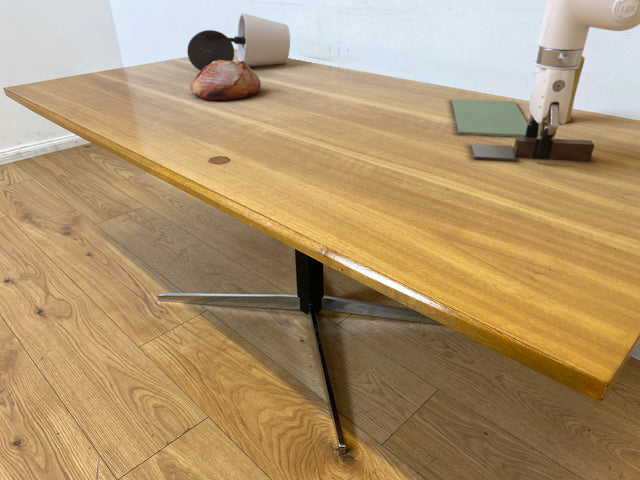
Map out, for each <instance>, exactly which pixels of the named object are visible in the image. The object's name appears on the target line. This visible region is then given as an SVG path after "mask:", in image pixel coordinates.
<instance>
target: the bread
mask: <svg viewBox="0 0 640 480" xmlns="http://www.w3.org/2000/svg"><path fill="white" fill-rule="evenodd" d="M261 82H262V81H261V79H260V77H259V76H258V75H257V74H256V73H255V71H254V70H252V69H251V66H247V65H246V63H245V62H244V61H239V60H238V61H234V60H233V61H226V60H217V61H213V62H212V63H211V64H210V65H208V66H205V67H204V68H203V69H202V70H201V71H200V70H199V71H198V72H197V73H196V74H195V76H193V78H192V80H191V81H190V84H189V88H190V89H189V90H190V91H191V93H192V94H193V95H194V96H197V97H199V98H201V99H204V100H208V101H211V102H213V101H234V100H240V99H244V98H249V97H252V96H253V95H255V94H256V93H258V92H259V91H260V89H261V87H262V83H261Z"/></svg>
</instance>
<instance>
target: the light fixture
mask: <svg viewBox="0 0 640 480" xmlns="http://www.w3.org/2000/svg"><path fill="white" fill-rule="evenodd" d="M290 35H291V33H290V29H289V27H288V24H285V23H282V22H278V21H274V20H270V19H266V18H263V17H260V16H259V17H258V16H255V15H252V14H247V13H243V12H241V14H240V15H239V19H238V24H237V36H236V35H235V36H234V37H228V36H227V35H225V34H224V33H223V32H220V31H217V30H213V29H206V30H202V31H199V32H197V33H195V35H194V36H192V37H191V39H190V40H189V42H188V45H187V50H186V51H187V57H188V61H189V62H190V64H191V65H192V66H193V67H194V68H195V69H197V70H198V71H199V72H200V71H201V70H202V69H203V68H204V67H205V66H208V65H210V64H211V63H212V62H213V61H217V60H226V61H233V62H234V58H235V47H234V45H236V46H237V47H236V48H237V59H238V61H244V62H245V63H246V65H247V66H249V67H260V66H272V65H273V66H274V65H283V64H286V63H287V62H288V60H289V55H290V50H291V49H290V48H291V36H290ZM233 43H234V45H233Z"/></svg>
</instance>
